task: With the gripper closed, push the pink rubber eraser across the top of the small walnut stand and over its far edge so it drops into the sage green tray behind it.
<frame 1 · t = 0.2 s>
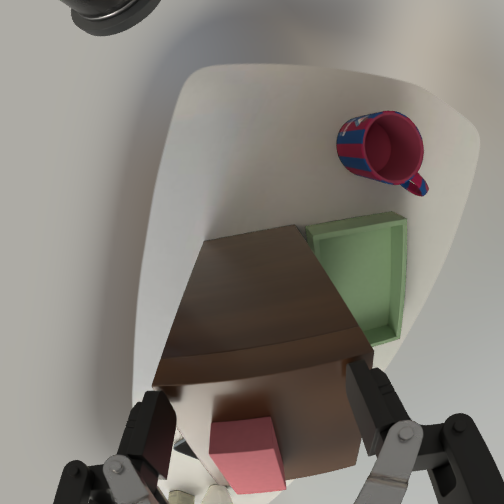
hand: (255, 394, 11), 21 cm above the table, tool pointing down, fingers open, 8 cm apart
walnut stand: (258, 282, 33), on the table
mug: (219, 484, 53), on the table
cosmetic box: (182, 493, 56), on the table
cup: (372, 157, 29), on the table
smartphone: (213, 452, 46), on the table
eraser: (251, 447, 13), point 21 cm above the table, touching walnut stand
tray: (354, 282, 33), on the table
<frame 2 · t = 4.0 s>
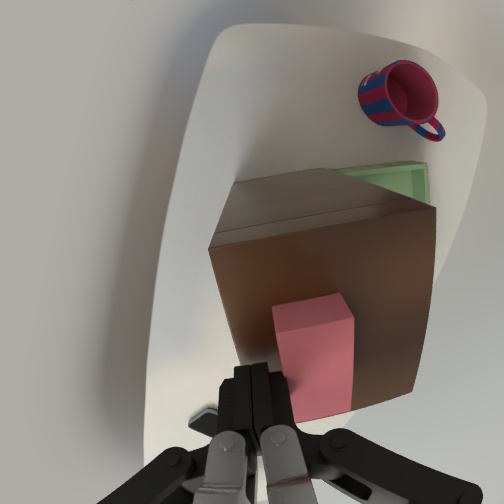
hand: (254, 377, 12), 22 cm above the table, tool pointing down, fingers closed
walnut stand: (287, 226, 33), on the table
cup: (391, 110, 28), on the table
smartphone: (230, 429, 46), on the table
eraser: (311, 351, 13), point 21 cm above the table, touching gripper, walnut stand
tray: (380, 230, 33), on the table
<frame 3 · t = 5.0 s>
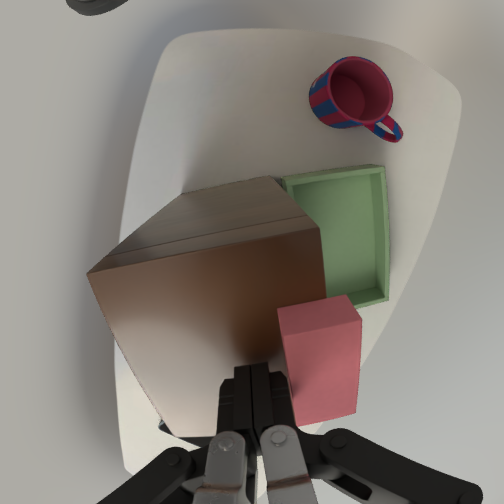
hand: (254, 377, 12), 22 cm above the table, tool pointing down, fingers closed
walnut stand: (235, 236, 33), on the table
cup: (347, 111, 28), on the table
smartphone: (200, 432, 46), on the table
eraser: (316, 353, 13), point 21 cm above the table, touching gripper
tray: (336, 237, 33), on the table
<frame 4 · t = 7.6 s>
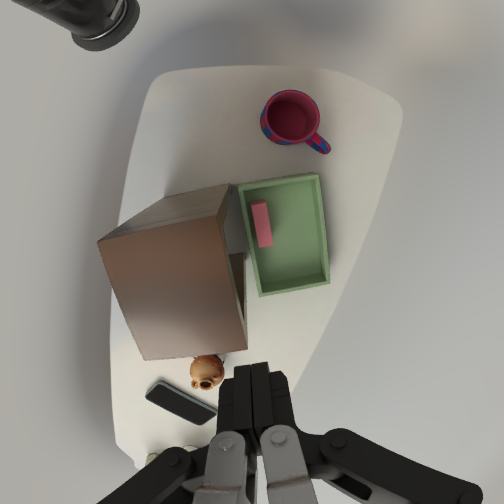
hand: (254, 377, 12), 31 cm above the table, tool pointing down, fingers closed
walnut stand: (204, 229, 42), on the table
cup: (292, 130, 38), on the table
pot: (209, 354, 50), on the table
smartphone: (181, 403, 55), on the table
eraser: (268, 221, 40), point 2 cm above the table, tilted 90°, touching tray
tray: (284, 231, 42), on the table
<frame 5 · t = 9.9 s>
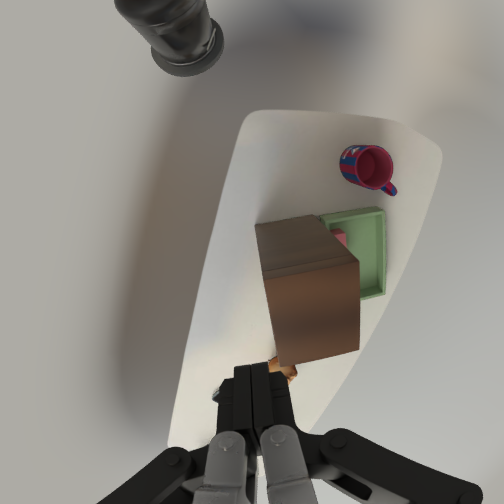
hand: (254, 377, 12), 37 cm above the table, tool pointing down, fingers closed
walnut stand: (289, 252, 50), on the table
cup: (362, 171, 45), on the table
pot: (279, 356, 58), on the table
eraser: (344, 246, 48), point 2 cm above the table, tilted 90°, touching tray
tray: (352, 253, 50), on the table
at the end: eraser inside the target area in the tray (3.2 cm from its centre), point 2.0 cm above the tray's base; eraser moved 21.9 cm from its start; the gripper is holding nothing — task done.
